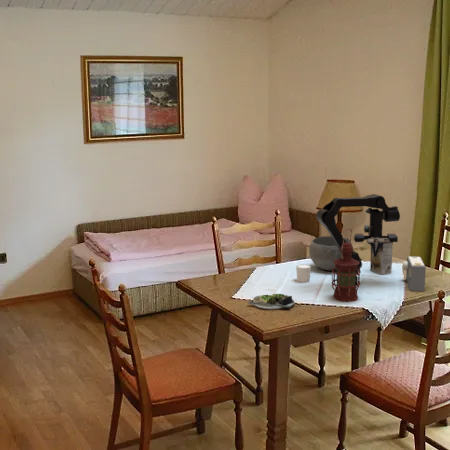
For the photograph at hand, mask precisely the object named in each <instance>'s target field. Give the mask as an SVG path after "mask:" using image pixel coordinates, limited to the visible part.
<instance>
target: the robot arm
mask: <svg viewBox="0 0 450 450" xmlns="http://www.w3.org/2000/svg"><path fill="white" fill-rule="evenodd" d="M350 207H351V208H352V207H366V208H367V207H368V208H367V209H366V210H365V213H366V214H368V215H369V225H368V224H367V225H366V224H365V225H364V226H363V233H364V234H365V233H367V234H368V235H364V234H363V233H355V234H354V235H353V240H354V242H355V243H363V242H364V241H365V240H366V242H367V244H368V245H370V248H371V247H372V251H373V254H374V257H376V255H377V253H378V251H379V249H380V247H381V245H382V244H384V240H389V241H390V242H393V243H398V241H399V240H398V238H399V237H398V236H397V234H396V233H387V234H386V235H383V222H385V223H387V222H389V223H390V222H399V221H400V219H401V214H400V210H399V207H398V206H396V205H394V206H388V205H387V202H386V198H385V197H384V196H383V195H380V194H376V193H372V194H368V195H365V196H362V197H361V196H358V197H357V196H356V197H355V196H354V197H334V198H333V199H332V200H331V201H330V202H328V203H326V204H325V205H324V206H323V207H322V208H321V209H318V210H317V212H316V214H315V218H316V220H317V221H318V222H319V224H321V226H323V227H324V228H325V230H326V231H327V232H328V233H329V236H331V237H332V238H333V240H334V242H335V243H336V245H337V247H338V248H339V250H340V247H341V246H342V244H343V238H344V236H343V237H342V233H341V232H340V230H339V228H338V226H337V222H336V218H335V217H336V216H337V215H338V213H339V212H340V210H341V209H342V208H350ZM374 240H376V248H375V242H374ZM344 243H346V241H345V240H344ZM342 256H343V255H342ZM351 258H353V259H354V260H357V261H359V265H358V267H359V268H360V269H361V268H362V266H363V262H362V261H363V259H362V258H361V257H360V255H359V253H358V252H356V251H355V250H353V253H352V256H351ZM358 267H357V269H358V270H359V268H358ZM357 273H358V271H357V270H355V274H357ZM355 280H357V281H358V275H355ZM357 284H358V282H356V281H355V286H356V285H357ZM355 288H356V289H357V287H355Z"/></svg>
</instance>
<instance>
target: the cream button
mask: <svg viewBox="0 0 450 450" xmlns="http://www.w3.org/2000/svg"><path fill="white" fill-rule="evenodd" d="M402 270H404V271H406V270H408V261H407V260H402Z"/></svg>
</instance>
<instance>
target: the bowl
mask: <svg viewBox="0 0 450 450" xmlns="http://www.w3.org/2000/svg"><path fill="white" fill-rule="evenodd" d="M343 238H344V240H345V241H346V242H347V243H350V239H347V238H345V237H343ZM308 251H309V257H310V260H311V261H312V263H313V264H314V265H315V266H316V267H318V268H319V269H322V270H324V271H331V272H332V269H333V268H334V266H335V264H334V263H333V261H334V260H337V259H339V258H341V252H340V250H339V248H338V247H337V245H336V243H335V242H334V240H333V238H332V237H331V235H329V236H328V235H326V236H319V237H316V238H313V239H312V240H311V243H310V245H309V250H308ZM335 268H336V267H335ZM335 271H337V269H336V270H335Z"/></svg>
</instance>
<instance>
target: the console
mask: <svg viewBox="0 0 450 450" xmlns="http://www.w3.org/2000/svg"><path fill="white" fill-rule="evenodd" d="M406 261H408V270H405V272H406V275H405V277H406V278H405V280H406V283H407V286H408V287H409V288H408V289H409V291H410V292H425V288H426V287H425V286H426V265H425V263H424V260H423V259H422V257H421V256H406ZM410 268H411V277H410V276H409V269H410Z"/></svg>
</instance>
